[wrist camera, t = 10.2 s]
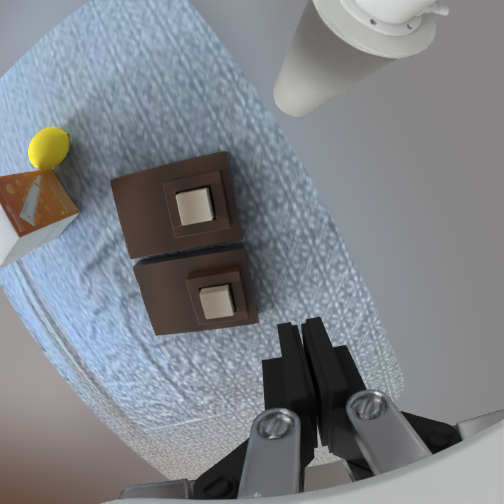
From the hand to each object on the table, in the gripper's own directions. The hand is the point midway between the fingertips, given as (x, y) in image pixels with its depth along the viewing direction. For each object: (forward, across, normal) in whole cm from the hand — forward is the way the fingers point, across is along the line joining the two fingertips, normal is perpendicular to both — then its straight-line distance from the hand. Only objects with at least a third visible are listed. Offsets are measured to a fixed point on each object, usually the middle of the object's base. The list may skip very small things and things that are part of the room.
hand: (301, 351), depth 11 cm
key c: (+22, +7, -3) cm, 23 cm away
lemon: (+25, +25, -15) cm, 39 cm away
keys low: (+25, +10, -4) cm, 27 cm away
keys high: (+25, +10, +8) cm, 28 cm away
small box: (+25, +28, -8) cm, 39 cm away
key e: (+22, +7, +7) cm, 24 cm away
